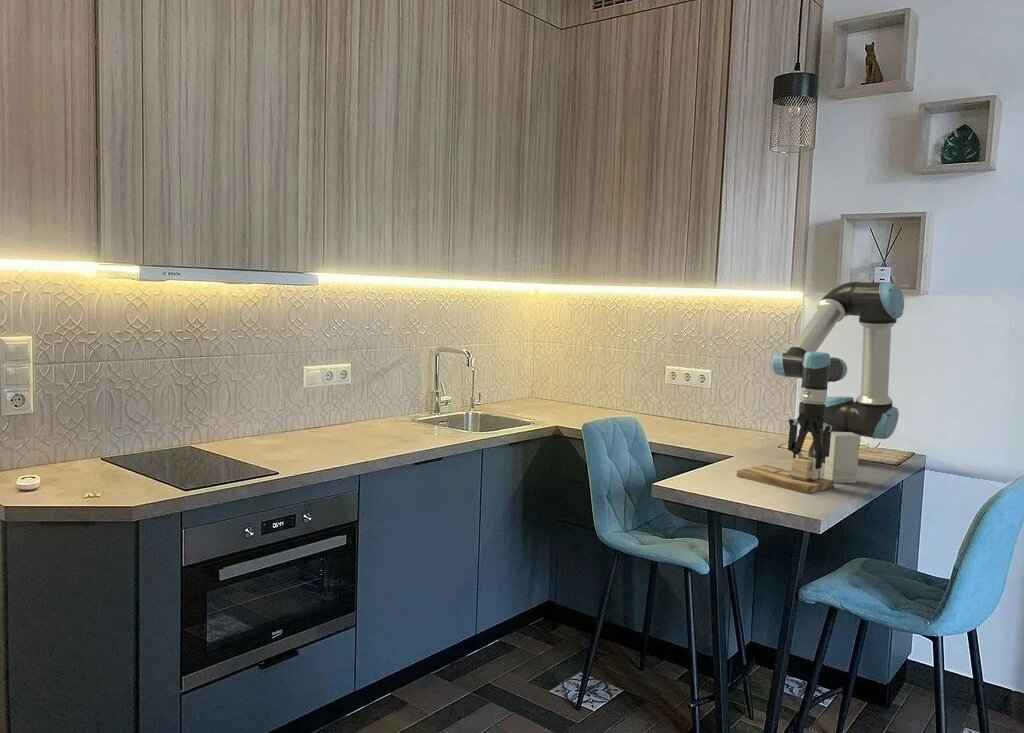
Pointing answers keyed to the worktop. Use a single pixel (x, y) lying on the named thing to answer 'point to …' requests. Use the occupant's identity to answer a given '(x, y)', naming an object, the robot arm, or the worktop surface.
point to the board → (783, 479)
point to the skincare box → (842, 457)
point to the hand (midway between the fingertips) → (805, 476)
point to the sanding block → (802, 468)
